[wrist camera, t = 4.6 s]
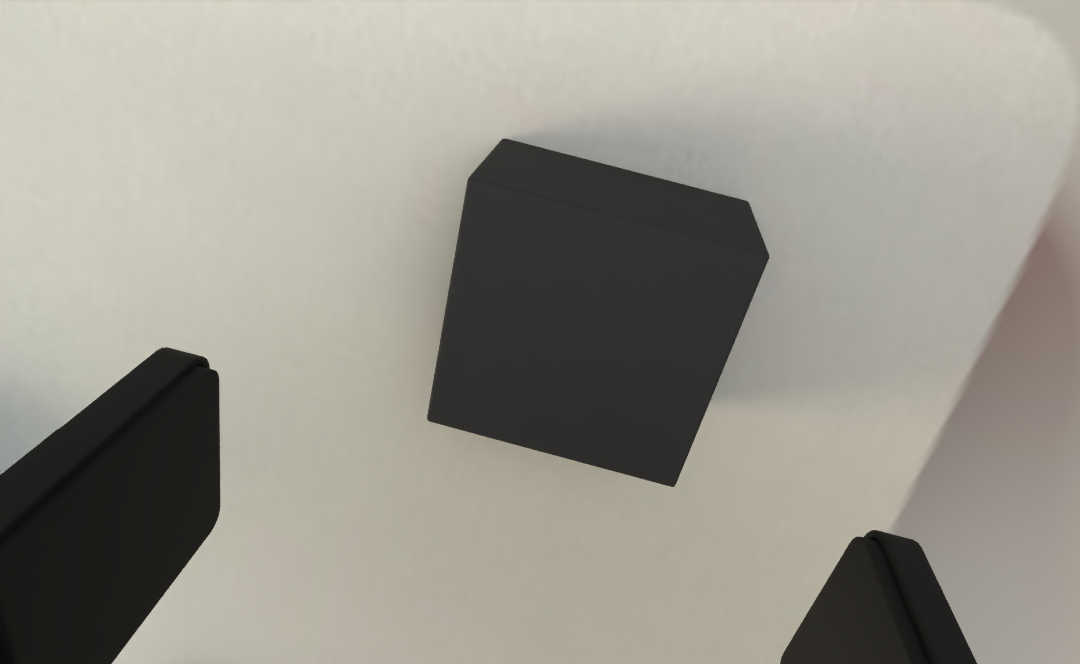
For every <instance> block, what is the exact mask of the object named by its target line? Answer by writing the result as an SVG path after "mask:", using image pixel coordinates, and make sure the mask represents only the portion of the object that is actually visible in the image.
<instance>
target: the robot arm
mask: <svg viewBox="0 0 1080 664" xmlns="http://www.w3.org/2000/svg"><path fill="white" fill-rule="evenodd" d="M219 511H220V424H219V375H218V373H217V371H215V370H212V369H210V367H209V362H208V360H207V359H206V358H204V357H202V356H198V355H195V354H191V353H187V352H183V351H179V350H175V349H171V348H167V347H166V348H161V349H159V350H157V351H156V352H155V353H153V354H152V355H151V356H150V357H148V358H147V359H146V360H145V361H143V362H142V363H141V364H140V365H138V366H137V367H136V368H135V369H133V370H132V371H131V372H130V373H128V374H127V375H126V376H125V377H123V378H122V379H121V380H120V381H118V382H117V383H116V384H115V385H113V386H112V387H111V388H110V389H108V390H107V391H106V392H105V393H103V394H102V395H101V396H100V397H98V398H97V399H96V400H95V401H93V402H92V403H91V404H90V405H89V406H87V407H86V408H85V409H84V410H82V411H81V412H80V413H79V414H77V415H76V416H75V417H74V418H72V419H71V420H70V421H69V422H67V423H66V424H65V425H64V426H62V427H61V428H59V429H58V430H56V431H55V432H54V433H52V434H51V435H50V436H49V437H47V438H46V439H45V440H44V441H42V442H41V443H40V444H39V445H37V446H36V447H35V448H34V449H32V450H31V451H30V452H29V453H27V454H26V455H25V456H24V457H22V458H21V459H20V460H19V461H17V462H16V463H15V464H14V465H12V466H11V467H10V468H9V469H7V470H6V471H5V472H4V473H2V474H1V475H0V664H112V662H113V661H114V660H115V658H116V657H117V656H118V654H119V653H120V652H121V650H122V649H123V648H124V646H125V645H126V644H127V642H128V641H129V640H130V638H131V637H132V636H133V634H134V633H135V632H136V631H137V629H138V628H139V627H140V625H141V624H142V623H143V621H144V620H145V619H146V617H147V616H148V615H149V613H150V612H151V611H152V609H153V608H154V607H155V605H156V604H157V603H158V601H159V600H160V599H161V597H162V596H163V595H164V593H165V592H166V591H167V589H168V588H169V587H170V585H171V584H172V583H173V582H174V580H175V579H176V578H177V576H178V575H179V574H180V572H181V571H182V570H183V568H184V567H185V566H186V564H187V563H188V562H189V560H190V559H191V558H192V556H193V555H194V554H195V552H196V551H197V550H198V548H199V547H200V546H201V544H202V543H203V542H204V540H205V539H206V538H207V537H208V535H209V534H210V532H211V531H212V529H213V528H214V526H215V524H216V521H217V518H218V516H219ZM780 664H977V663H976V661H975V658H974V656H973V654H972V652H971V650H970V648H969V646H968V644H967V642H966V640H965V638H964V635H963V633H962V631H961V629H960V627H959V625H958V623H957V621H956V619H955V617H954V614H953V612H952V610H951V608H950V606H949V604H948V602H947V600H946V598H945V596H944V594H943V591H942V589H941V587H940V585H939V583H938V581H937V579H936V577H935V575H934V573H933V570H932V569H931V566H930V564H929V562H928V560H927V558H926V556H925V554H924V552H923V550H922V548H921V546H920V545H919V543H917V542H916V541H914V540H912V539H908V538H904V537H900V536H896V535H892V534H889V533H885V532H881V531H877V530H872V531H870V532H868V533H867V534H866V535H865V536H864V538H863V537H856V538H854V539H853V540H852V541H851V542H850V544H849V545H848V547H847V549H846V550H845V552H844V554H843V555H842V557H841V559H840V560H839V562H838V564H837V565H836V567H835V569H834V570H833V572H832V574H831V575H830V577H829V579H828V580H827V582H826V584H825V585H824V587H823V588H822V590H821V592H820V593H819V595H818V597H817V598H816V600H815V602H814V603H813V605H812V607H811V608H810V610H809V612H808V613H807V615H806V617H805V618H804V620H803V622H802V623H801V625H800V627H799V628H798V630H797V632H796V633H795V635H794V636H793V638H792V640H791V641H790V643H789V645H788V646H787V648H786V650H785V651H784V653H783V656H782V658H781V662H780Z"/></svg>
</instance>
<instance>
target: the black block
mask: <svg viewBox="0 0 1080 664" xmlns="http://www.w3.org/2000/svg"><path fill="white" fill-rule="evenodd" d="M768 259H769V254H768V251H767V249H766V246H765V243H764V241H763V238H762V236H761V233H760V231H759V228H758V225H757V223H756V220H755V218H754V215H753V212H752V210H751V207H750V205H749V203H748V202H747V201H744V200H740V199H737V198H733V197H729V196H725V195H721V194H717V193H713V192H709V191H706V190H702V189H698V188H694V187H690V186H686V185H682V184H679V183H675V182H671V181H667V180H663V179H659V178H655V177H652V176H648V175H644V174H640V173H636V172H632V171H628V170H624V169H621V168H617V167H613V166H609V165H605V164H601V163H597V162H594V161H590V160H586V159H582V158H578V157H574V156H570V155H567V154H563V153H559V152H555V151H551V150H547V149H543V148H540V147H536V146H532V145H528V144H524V143H520V142H516V141H512V140H509V139H502V140H501V141H500V143H499V144H498V145H497V146H496V147H495V148H494V149H493V151H492V152H491V153H490V154H489V155H488V156H487V157H486V159H485V160H484V161H483V162H482V163H481V164H480V165H479V167H478V168H477V169H476V170H475V171H474V172H473V173H472V175H471V176H470V177H469V178H468V182H467V188H466V193H465V199H464V205H463V211H462V217H461V223H460V228H459V234H458V240H457V246H456V252H455V258H454V263H453V269H452V275H451V281H450V287H449V293H448V299H447V304H446V310H445V316H444V322H443V328H442V334H441V339H440V345H439V351H438V357H437V363H436V369H435V374H434V380H433V386H432V392H431V398H430V404H429V409H428V415H427V419H428V421H430V422H434V423H437V424H441V425H445V426H449V427H452V428H456V429H460V430H463V431H467V432H471V433H474V434H478V435H482V436H486V437H489V438H493V439H497V440H500V441H504V442H508V443H511V444H515V445H519V446H523V447H526V448H530V449H534V450H537V451H541V452H545V453H548V454H552V455H556V456H560V457H563V458H567V459H571V460H574V461H578V462H582V463H586V464H589V465H593V466H597V467H600V468H604V469H608V470H611V471H615V472H619V473H623V474H626V475H630V476H634V477H637V478H641V479H645V480H648V481H652V482H656V483H660V484H663V485H667V486H671V487H674V486H675V485H676V482H677V480H678V478H679V475H680V473H681V470H682V468H683V465H684V463H685V461H686V458H687V456H688V453H689V451H690V448H691V446H692V444H693V441H694V439H695V436H696V434H697V431H698V429H699V427H700V424H701V422H702V419H703V417H704V414H705V412H706V410H707V407H708V405H709V402H710V400H711V397H712V395H713V393H714V390H715V388H716V385H717V383H718V380H719V378H720V376H721V373H722V371H723V368H724V366H725V363H726V361H727V359H728V356H729V354H730V351H731V349H732V346H733V344H734V342H735V339H736V337H737V334H738V332H739V329H740V327H741V325H742V322H743V320H744V317H745V315H746V312H747V310H748V308H749V305H750V303H751V300H752V298H753V295H754V293H755V291H756V288H757V286H758V283H759V281H760V278H761V276H762V274H763V271H764V269H765V266H766V264H767V261H768Z"/></svg>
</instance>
